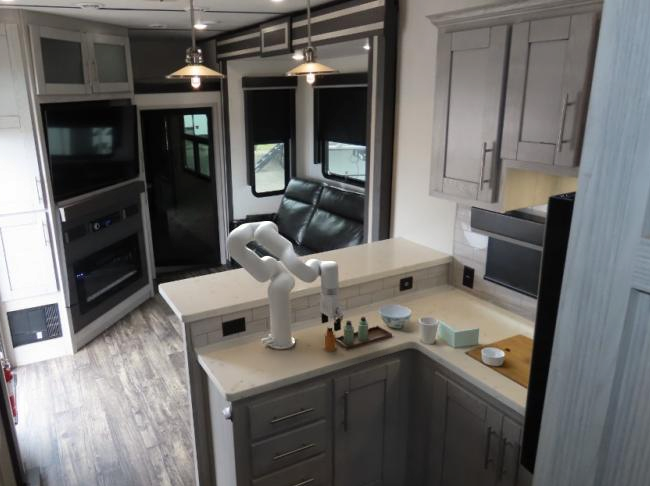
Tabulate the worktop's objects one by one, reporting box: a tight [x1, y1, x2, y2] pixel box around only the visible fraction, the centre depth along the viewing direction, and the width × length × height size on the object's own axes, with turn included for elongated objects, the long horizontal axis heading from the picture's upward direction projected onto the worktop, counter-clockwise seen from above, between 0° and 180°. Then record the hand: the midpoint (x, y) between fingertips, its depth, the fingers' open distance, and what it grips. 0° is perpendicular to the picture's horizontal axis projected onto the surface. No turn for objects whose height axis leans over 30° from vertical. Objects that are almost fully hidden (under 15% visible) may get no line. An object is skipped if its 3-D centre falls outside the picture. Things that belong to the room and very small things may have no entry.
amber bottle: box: [324, 326, 336, 352], centre depth 225 cm, size 5×5×10 cm
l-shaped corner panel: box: [438, 320, 480, 349], centre depth 228 cm, size 12×12×8 cm
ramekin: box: [480, 347, 506, 367], centre depth 209 cm, size 9×9×4 cm
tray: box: [335, 325, 393, 351], centre depth 233 cm, size 25×10×2 cm, turn 116°
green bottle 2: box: [357, 316, 369, 341], centre depth 232 cm, size 5×5×10 cm
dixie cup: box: [418, 316, 440, 345], centre depth 228 cm, size 8×8×10 cm
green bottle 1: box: [342, 320, 355, 345], centre depth 229 cm, size 5×5×10 cm
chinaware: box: [378, 304, 412, 330], centre depth 245 cm, size 15×15×8 cm
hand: (331, 326), depth 223 cm, fingers open, 9 cm apart
